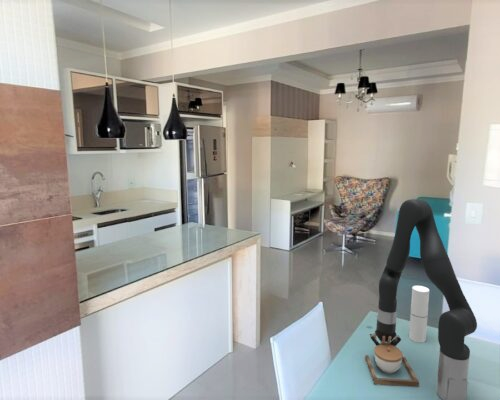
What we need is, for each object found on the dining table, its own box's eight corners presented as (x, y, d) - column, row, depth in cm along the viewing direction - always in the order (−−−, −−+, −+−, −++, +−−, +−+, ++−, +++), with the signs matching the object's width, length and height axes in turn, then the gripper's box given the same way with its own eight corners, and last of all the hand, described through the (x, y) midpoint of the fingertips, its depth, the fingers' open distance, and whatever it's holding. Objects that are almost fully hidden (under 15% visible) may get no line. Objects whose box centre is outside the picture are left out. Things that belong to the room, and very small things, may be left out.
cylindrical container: (408, 340, 162) (411, 290, 158) (409, 332, 169) (412, 284, 165) (425, 344, 159) (429, 293, 155) (425, 336, 165) (429, 287, 161)
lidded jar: (368, 367, 143) (369, 347, 142) (383, 356, 150) (384, 337, 148) (392, 381, 135) (393, 359, 133) (407, 369, 141) (408, 348, 139)
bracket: (365, 359, 149) (365, 354, 148) (404, 361, 147) (404, 356, 147) (374, 384, 133) (374, 379, 133) (418, 386, 132) (419, 382, 131)
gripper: (372, 322, 142) (370, 360, 145) (405, 324, 141) (402, 362, 144) (368, 313, 149) (366, 350, 152) (399, 315, 148) (397, 351, 151)
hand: (384, 356), depth 148 cm, fingers closed
